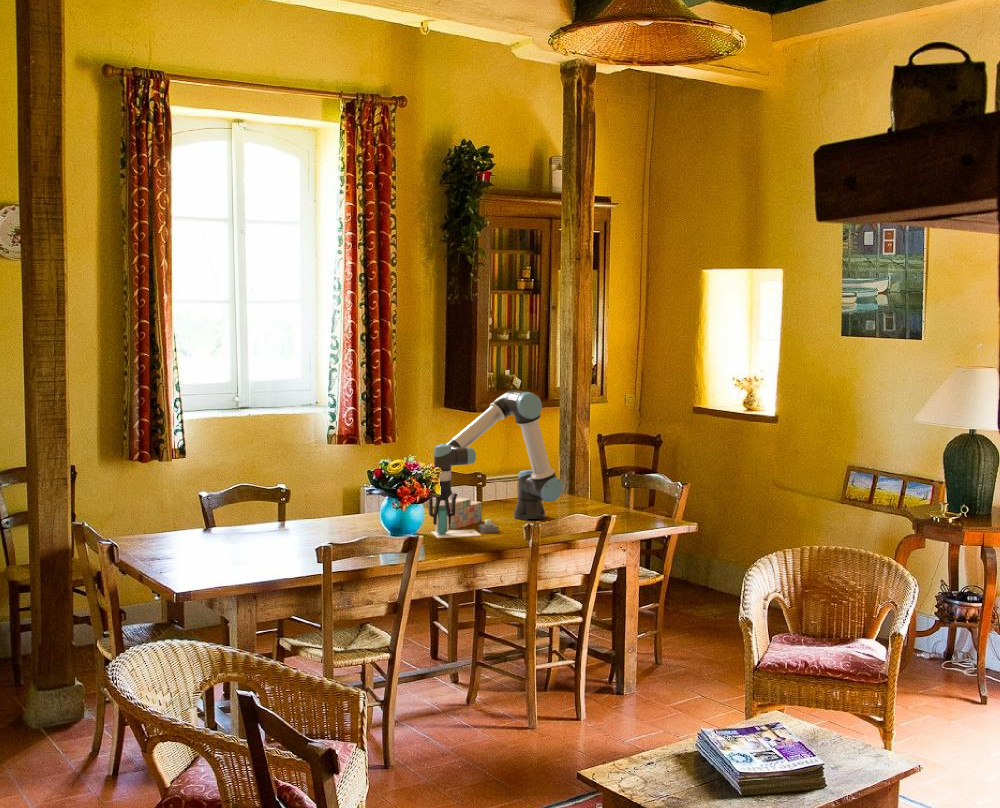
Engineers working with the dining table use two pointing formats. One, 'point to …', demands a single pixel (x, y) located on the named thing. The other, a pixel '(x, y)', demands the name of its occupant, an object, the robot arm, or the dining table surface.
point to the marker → (442, 519)
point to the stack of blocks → (465, 513)
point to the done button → (488, 522)
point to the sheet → (457, 533)
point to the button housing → (488, 528)
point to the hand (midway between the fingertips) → (441, 531)
